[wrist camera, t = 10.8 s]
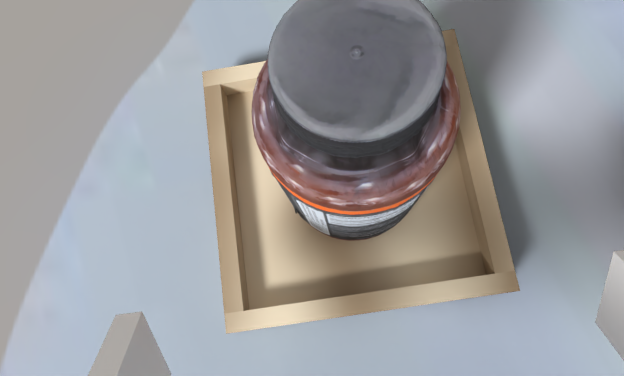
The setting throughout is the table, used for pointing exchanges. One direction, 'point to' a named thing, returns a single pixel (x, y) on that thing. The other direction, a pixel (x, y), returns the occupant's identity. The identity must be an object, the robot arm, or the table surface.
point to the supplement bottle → (356, 111)
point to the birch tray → (341, 253)
